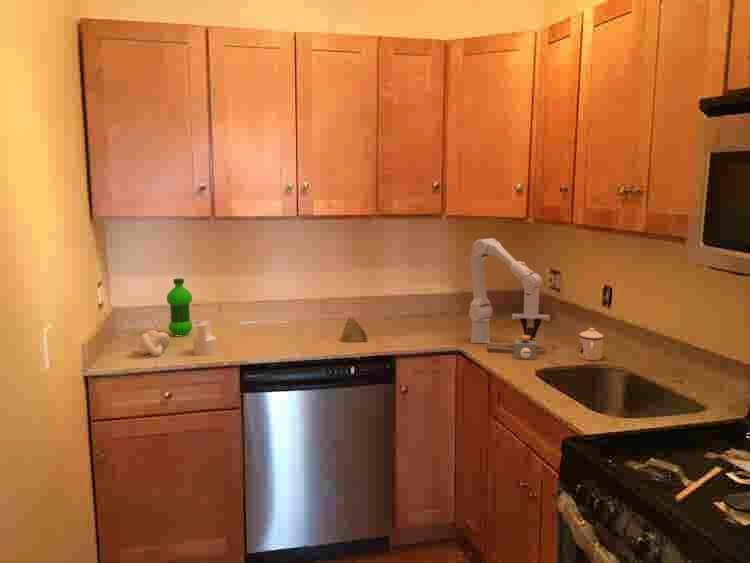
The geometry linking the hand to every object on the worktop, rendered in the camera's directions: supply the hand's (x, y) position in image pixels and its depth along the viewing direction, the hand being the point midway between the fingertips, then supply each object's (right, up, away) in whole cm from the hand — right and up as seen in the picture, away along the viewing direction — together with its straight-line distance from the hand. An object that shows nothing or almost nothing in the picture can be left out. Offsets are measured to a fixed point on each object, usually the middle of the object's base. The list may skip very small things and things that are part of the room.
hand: (529, 337), depth 252 cm
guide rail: (-5, -4, +2) cm, 7 cm away
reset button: (-4, -1, -9) cm, 10 cm away
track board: (-5, -6, +2) cm, 8 cm away
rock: (-71, -3, +16) cm, 73 cm away
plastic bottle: (-148, -1, +26) cm, 151 cm away
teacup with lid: (+21, -8, -9) cm, 24 cm away
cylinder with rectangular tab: (-130, -6, -3) cm, 130 cm away
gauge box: (-4, -7, -8) cm, 11 cm away
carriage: (0, -4, +1) cm, 4 cm away
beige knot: (-150, -6, -5) cm, 150 cm away
